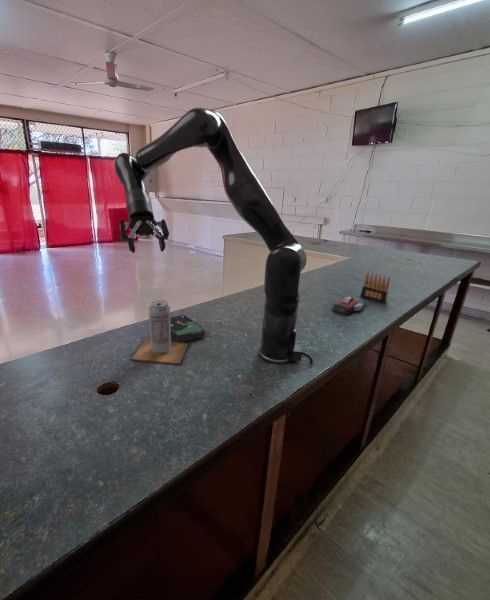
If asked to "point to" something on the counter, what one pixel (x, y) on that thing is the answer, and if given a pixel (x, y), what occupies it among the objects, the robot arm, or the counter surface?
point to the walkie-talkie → (348, 305)
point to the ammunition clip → (375, 288)
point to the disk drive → (185, 329)
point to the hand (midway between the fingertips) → (148, 250)
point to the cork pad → (170, 357)
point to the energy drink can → (160, 327)
